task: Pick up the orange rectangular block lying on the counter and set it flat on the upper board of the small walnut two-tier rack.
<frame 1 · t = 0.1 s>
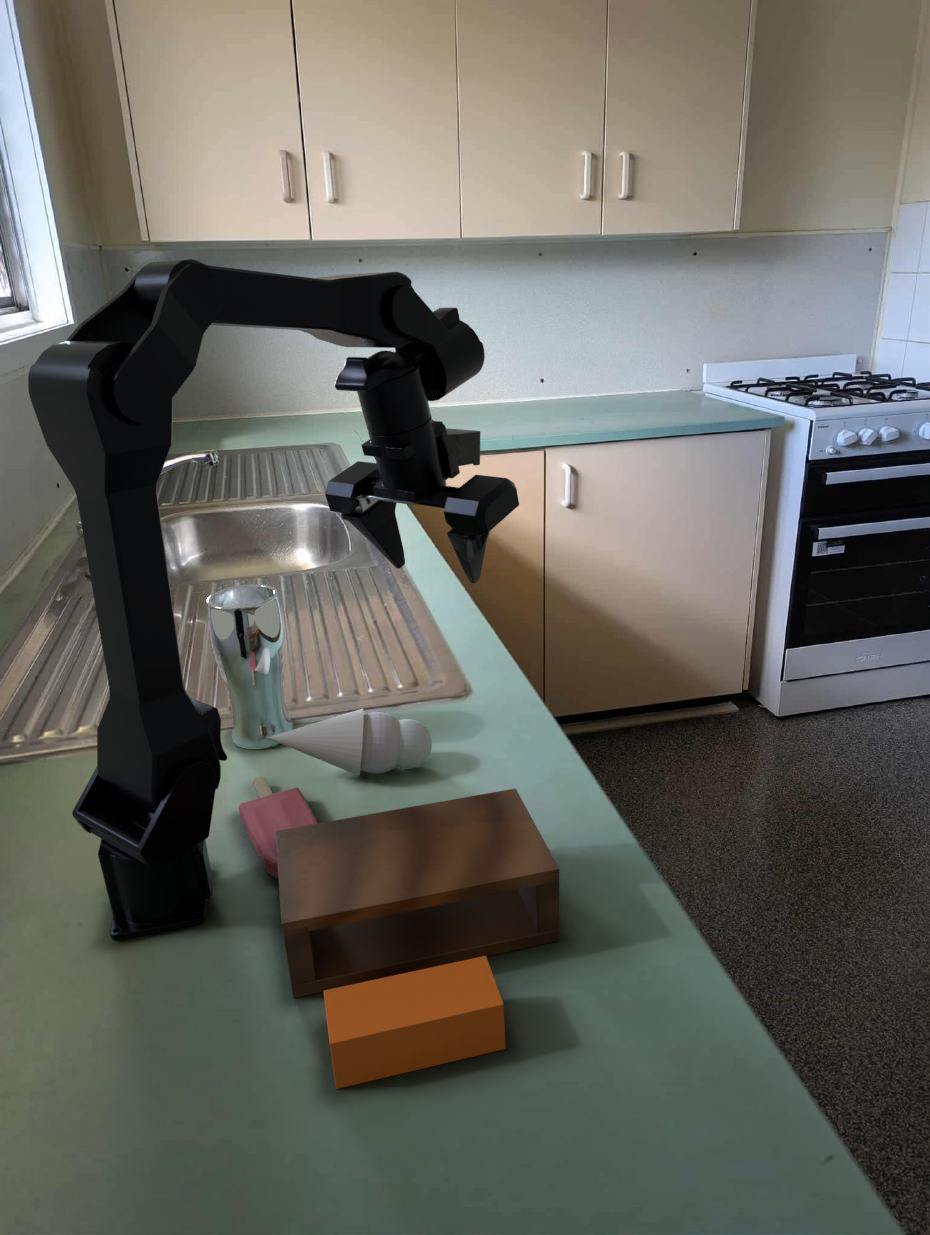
hand: (437, 573, 85), 15 cm above the worktop, tool pointing down, fingers open, 9 cm apart
shelf: (416, 918, 62), on the worktop
ice cream cone: (354, 774, 81), on the worktop
beer glass: (263, 736, 88), on the worktop
popsicle: (280, 830, 73), on the worktop
orange rectangular block: (416, 1041, 52), on the worktop
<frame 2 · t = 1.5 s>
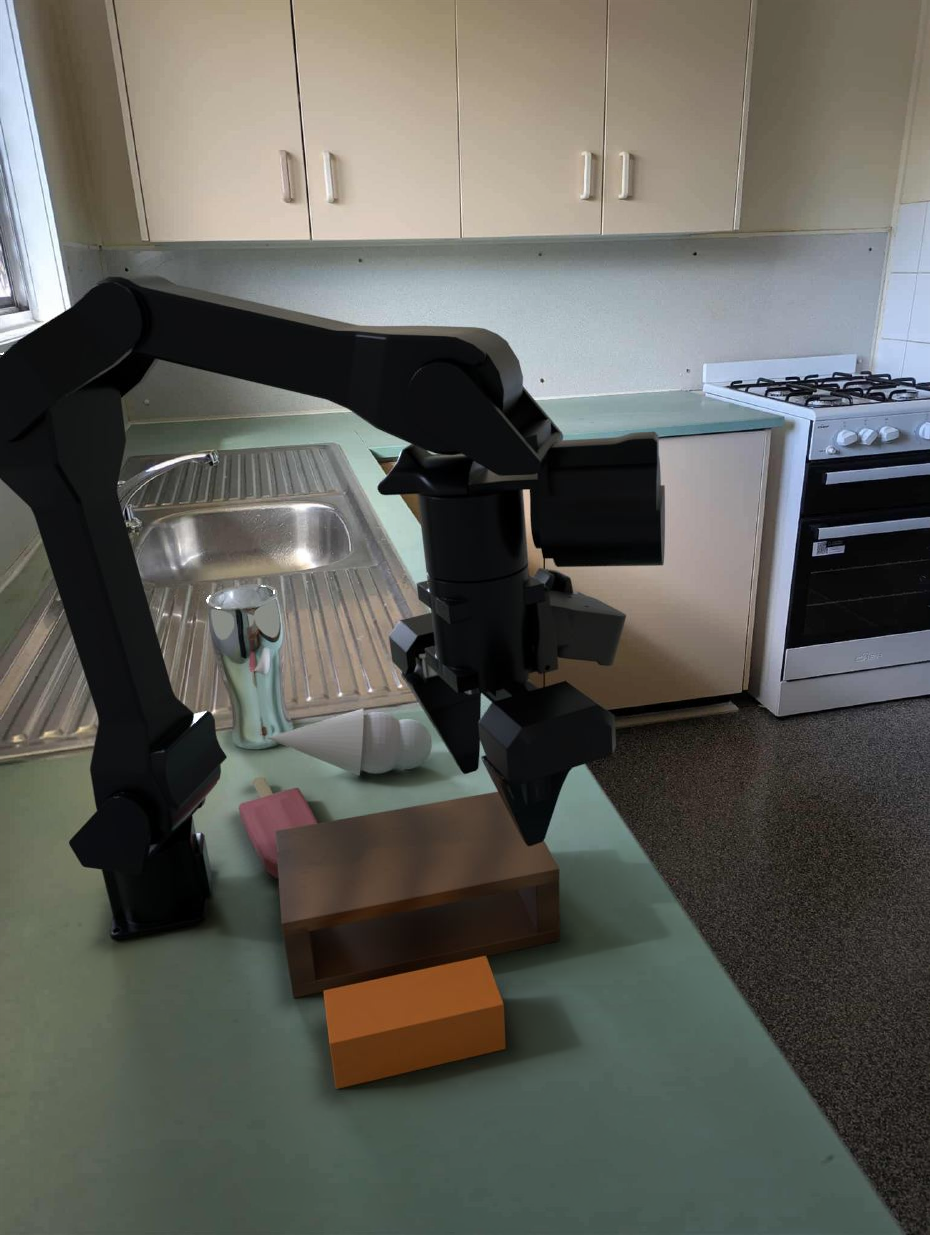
hand: (500, 804, 54), 12 cm above the worktop, tool pointing down, fingers open, 9 cm apart
nothing on the worktop moved.
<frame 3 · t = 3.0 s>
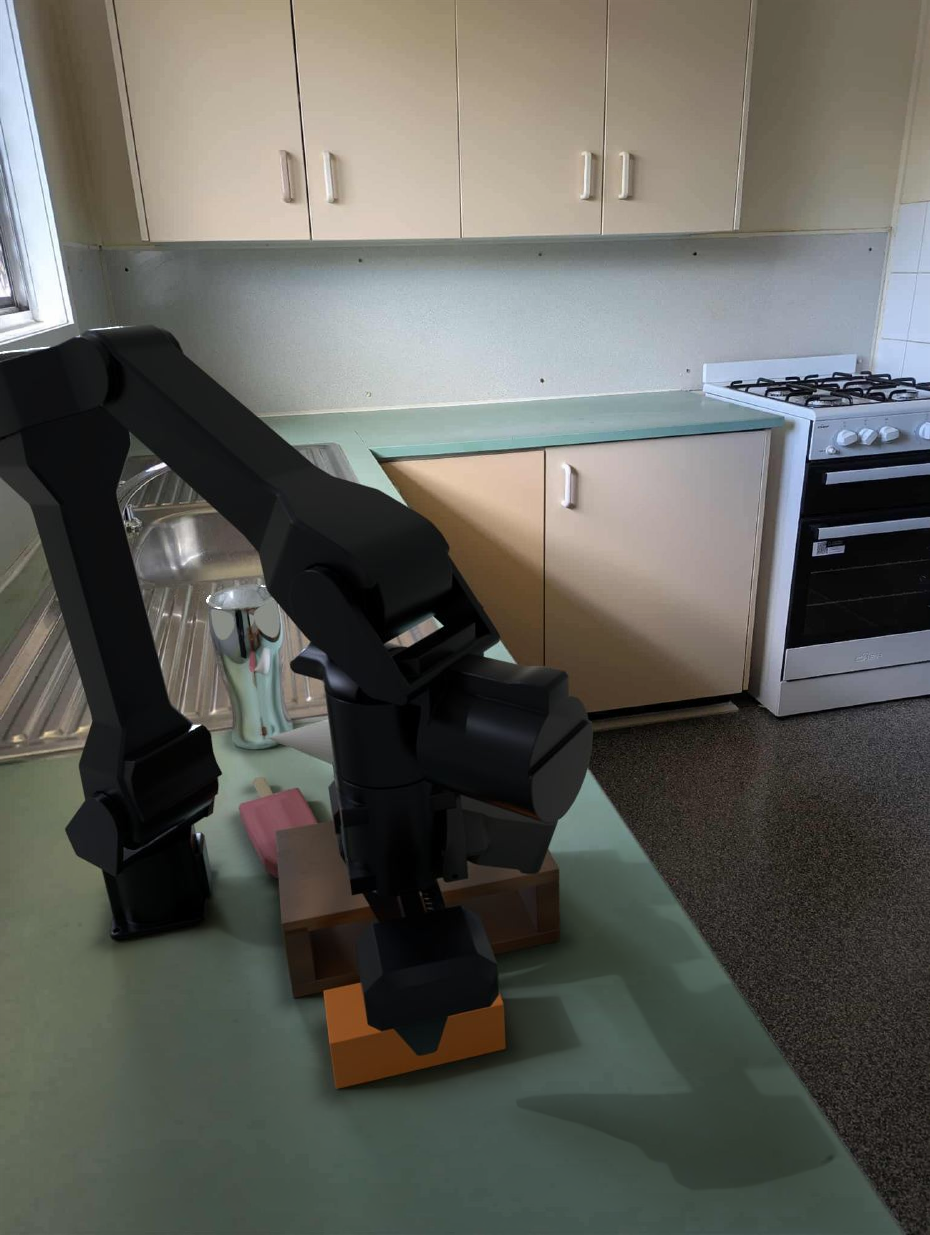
hand: (412, 992, 51), 4 cm above the worktop, tool pointing down, fingers open, 8 cm apart
nothing on the worktop moved.
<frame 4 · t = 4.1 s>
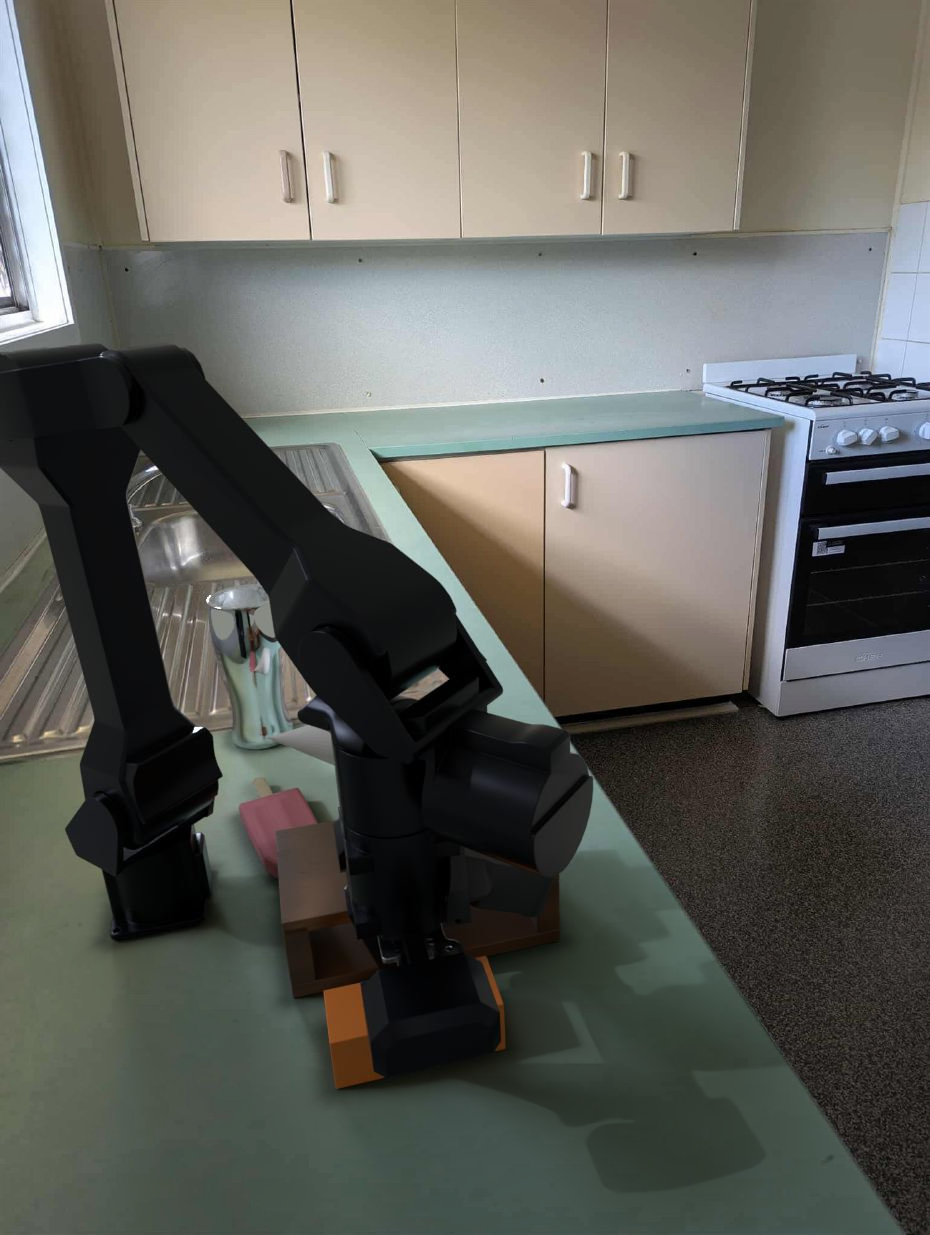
hand: (415, 1028, 52), 1 cm above the worktop, tool pointing down, fingers closed on orange rectangular block, 4 cm apart
orange rectangular block: (416, 1041, 52), on the worktop, touching gripper
everything else where it was.
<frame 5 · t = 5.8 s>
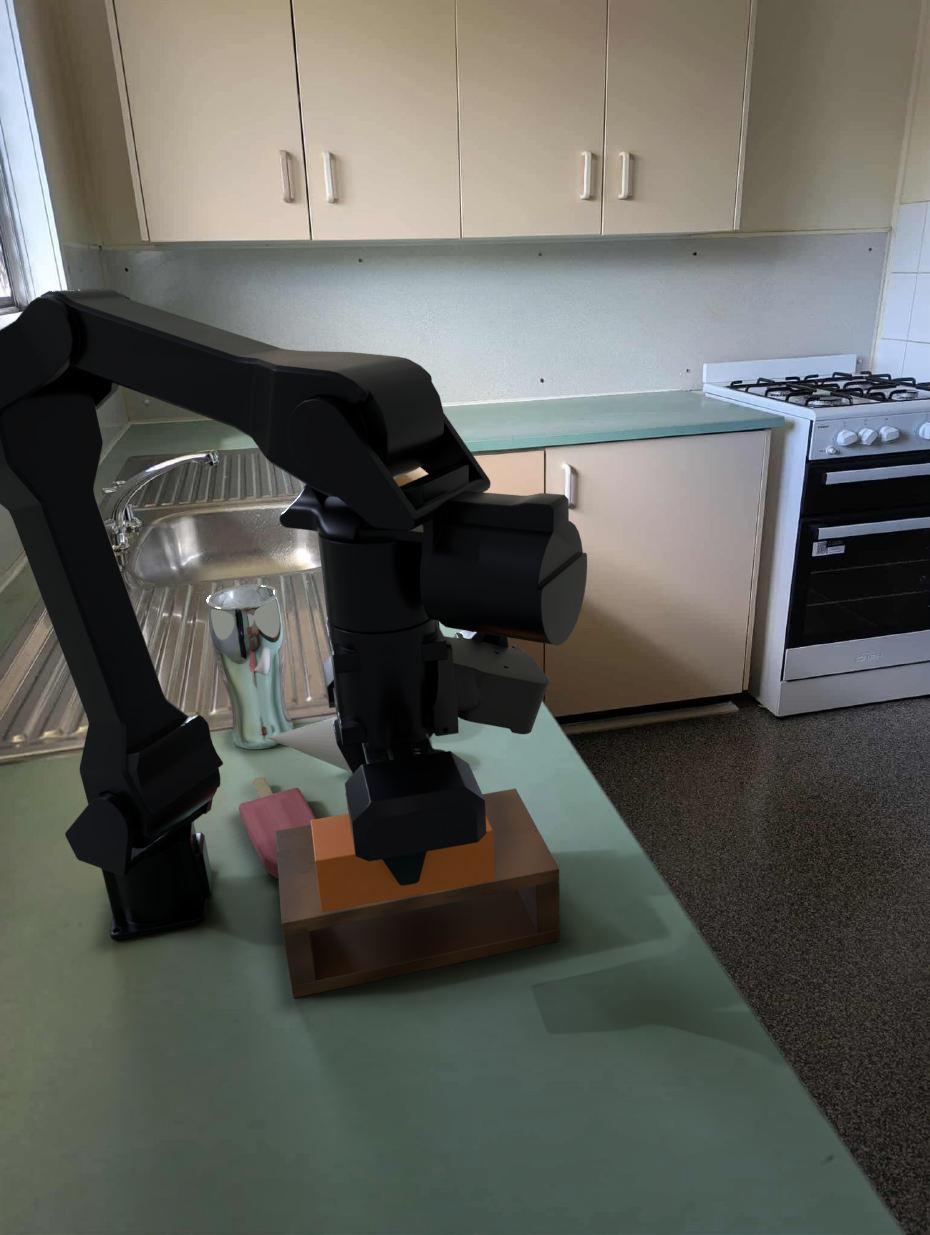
hand: (403, 860, 51), 11 cm above the worktop, tool pointing down, fingers closed on orange rectangular block, 4 cm apart
orange rectangular block: (404, 874, 52), point 10 cm above the worktop, touching gripper
everything else where it was.
when the fingers open (7 cm above the worktop, at t = 7.6 s): orange rectangular block stays where it is, resting on shelf.
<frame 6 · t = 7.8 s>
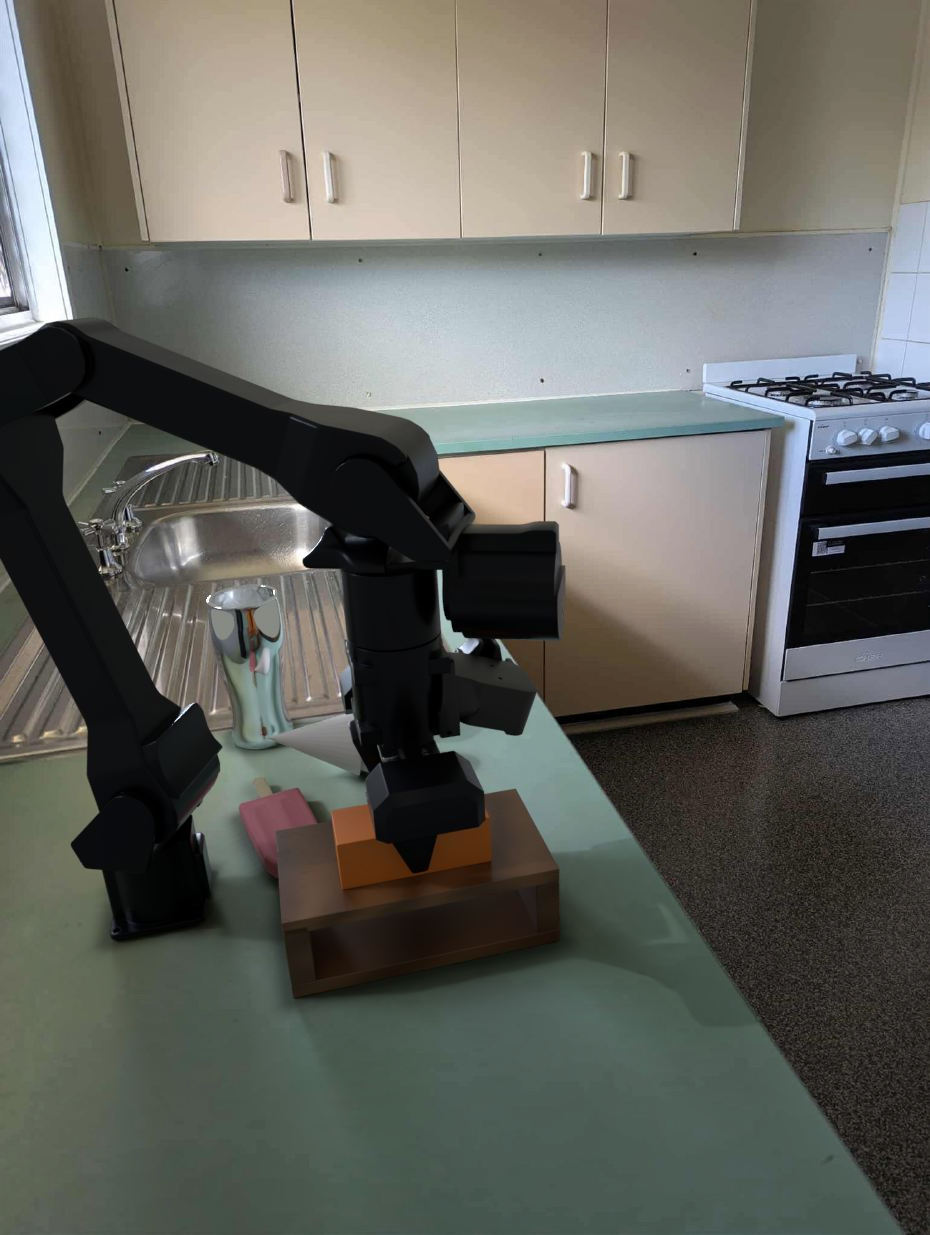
hand: (412, 846, 59), 7 cm above the worktop, tool pointing down, fingers open, 5 cm apart
orange rectangular block: (412, 857, 59), point 6 cm above the worktop, touching shelf
everything else where it was.
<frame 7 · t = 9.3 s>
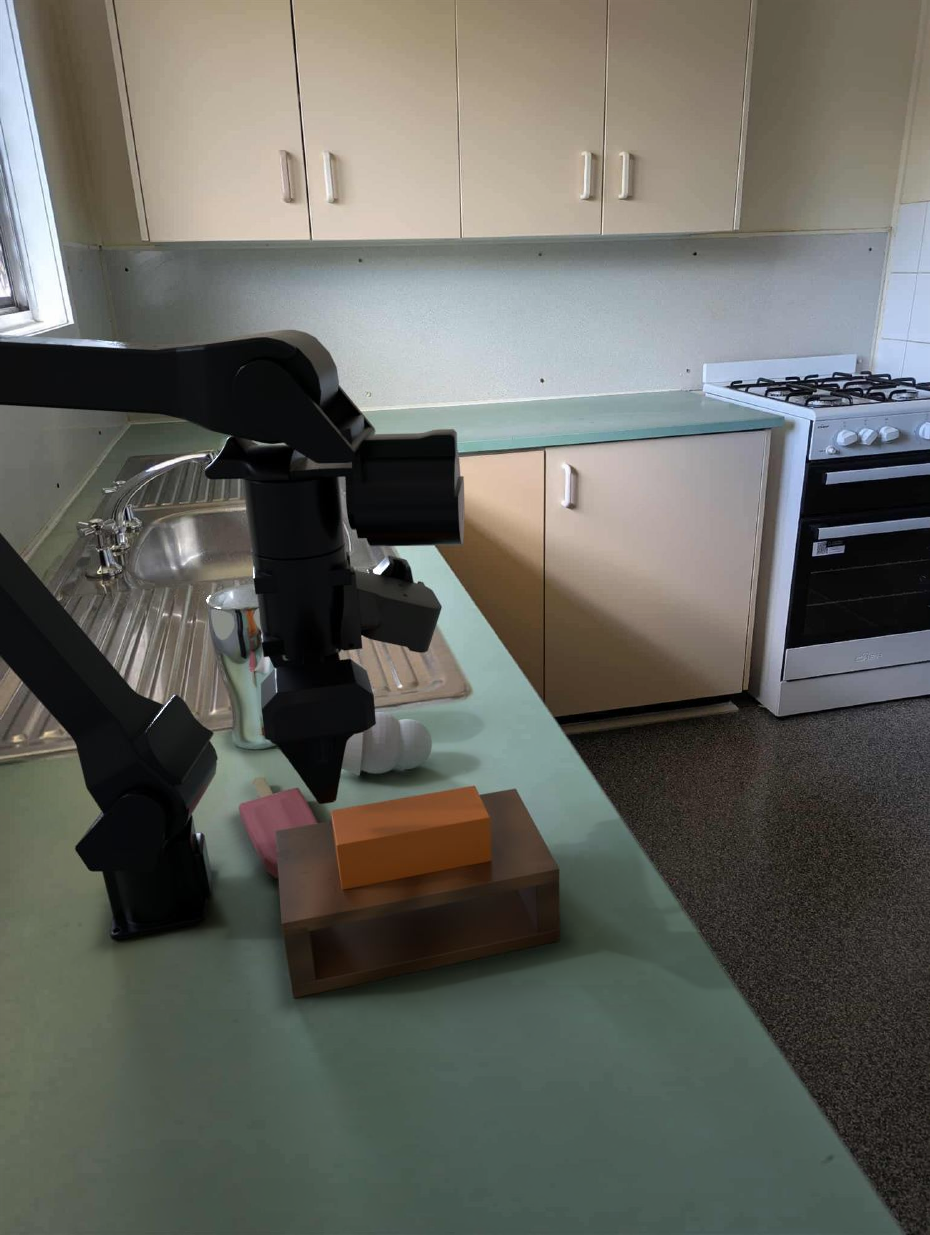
hand: (322, 764, 60), 12 cm above the worktop, tool pointing down, fingers open, 9 cm apart
nothing on the worktop moved.
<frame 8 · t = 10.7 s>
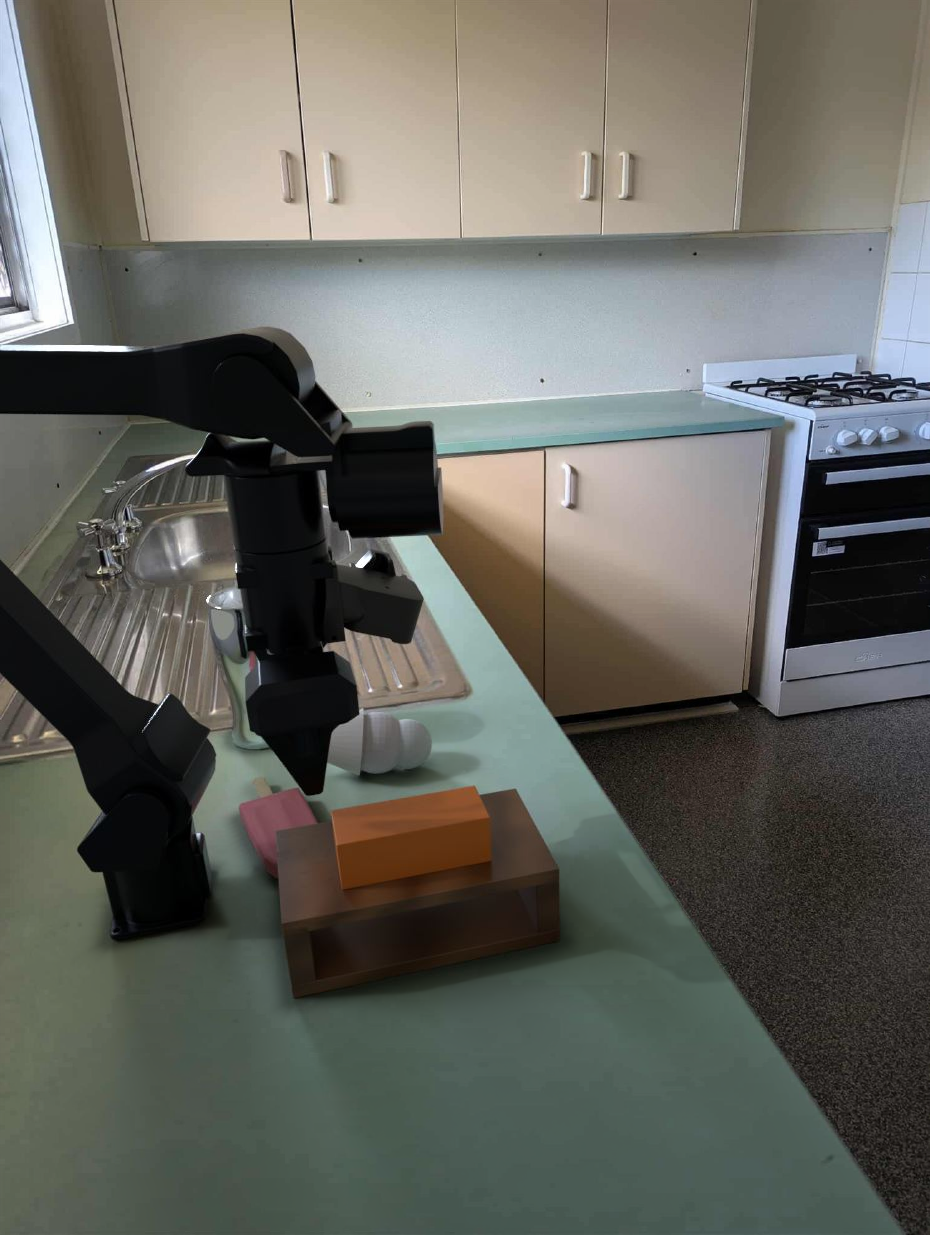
hand: (309, 758, 60), 12 cm above the worktop, tool pointing down, fingers open, 9 cm apart
nothing on the worktop moved.
at the end: orange rectangular block inside the target area on the shelf (1.0 cm from its centre), point 6.0 cm above the shelf's base; orange rectangular block tilted 0°; the gripper is holding nothing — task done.
